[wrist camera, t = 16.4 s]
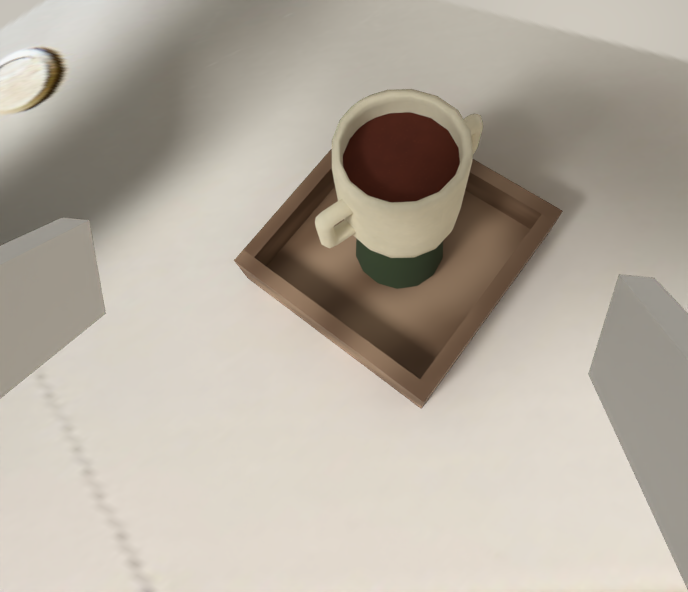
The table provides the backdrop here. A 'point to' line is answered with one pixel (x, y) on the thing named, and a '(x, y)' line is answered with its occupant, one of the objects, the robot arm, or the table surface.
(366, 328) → the walnut tray
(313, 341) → the table surface
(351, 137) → the character mug
